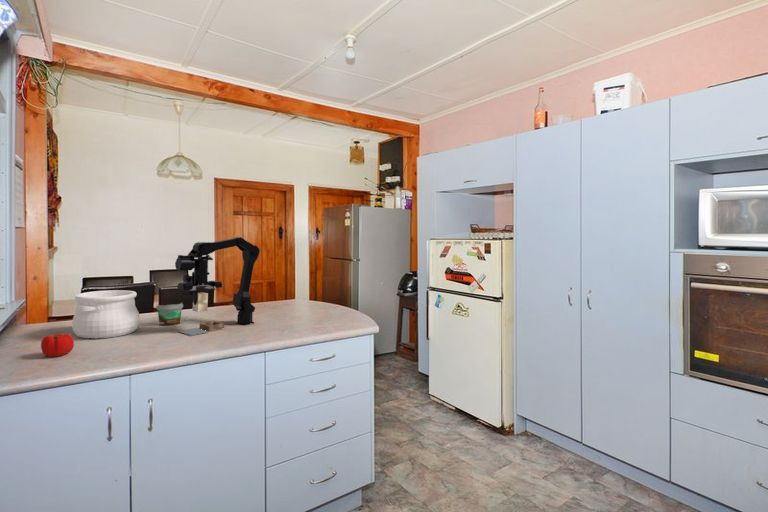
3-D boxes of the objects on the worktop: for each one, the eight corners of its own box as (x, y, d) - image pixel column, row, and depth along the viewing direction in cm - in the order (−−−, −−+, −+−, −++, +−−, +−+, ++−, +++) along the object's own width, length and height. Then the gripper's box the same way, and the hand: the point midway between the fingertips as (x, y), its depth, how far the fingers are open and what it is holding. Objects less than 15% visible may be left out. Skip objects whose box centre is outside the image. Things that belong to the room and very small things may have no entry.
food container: (162, 327, 188) (162, 306, 188) (156, 325, 192) (156, 304, 192) (188, 323, 198) (188, 303, 198) (182, 321, 202) (182, 301, 201)
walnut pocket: (214, 326, 194) (214, 321, 194) (224, 328, 189) (224, 323, 189) (199, 329, 187) (199, 323, 187) (208, 331, 183) (208, 326, 183)
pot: (104, 343, 161) (104, 299, 160) (55, 338, 166) (54, 296, 165) (153, 328, 187) (153, 291, 186) (109, 324, 192) (109, 288, 191)
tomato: (79, 351, 150) (78, 331, 149) (60, 359, 141) (60, 338, 140) (53, 351, 149) (53, 331, 149) (33, 358, 140) (32, 337, 140)
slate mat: (195, 329, 187) (195, 327, 187) (208, 332, 182) (208, 331, 181) (178, 332, 181) (178, 331, 181) (191, 336, 175) (191, 334, 175)
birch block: (201, 309, 186) (202, 292, 186) (207, 310, 184) (207, 293, 183) (192, 310, 183) (193, 293, 182) (198, 311, 180) (198, 294, 180)
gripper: (209, 268, 195) (209, 300, 195) (171, 269, 179) (170, 304, 180) (223, 269, 188) (222, 302, 189) (184, 271, 173) (183, 307, 174)
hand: (200, 304), depth 183 cm, fingers closed on birch block, 4 cm apart
